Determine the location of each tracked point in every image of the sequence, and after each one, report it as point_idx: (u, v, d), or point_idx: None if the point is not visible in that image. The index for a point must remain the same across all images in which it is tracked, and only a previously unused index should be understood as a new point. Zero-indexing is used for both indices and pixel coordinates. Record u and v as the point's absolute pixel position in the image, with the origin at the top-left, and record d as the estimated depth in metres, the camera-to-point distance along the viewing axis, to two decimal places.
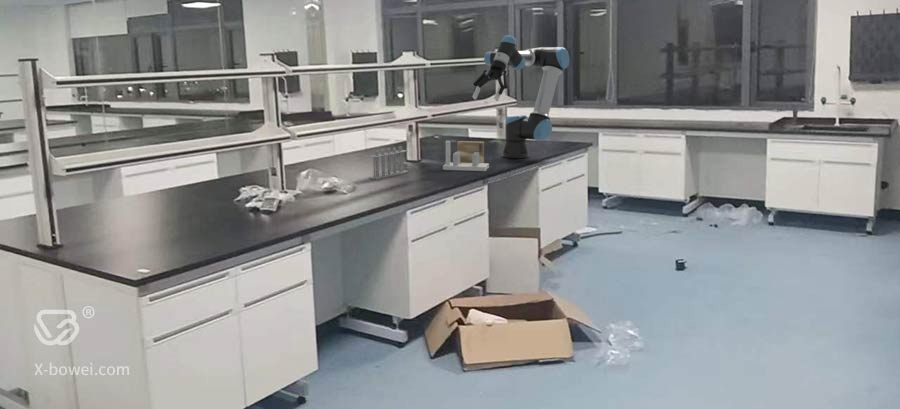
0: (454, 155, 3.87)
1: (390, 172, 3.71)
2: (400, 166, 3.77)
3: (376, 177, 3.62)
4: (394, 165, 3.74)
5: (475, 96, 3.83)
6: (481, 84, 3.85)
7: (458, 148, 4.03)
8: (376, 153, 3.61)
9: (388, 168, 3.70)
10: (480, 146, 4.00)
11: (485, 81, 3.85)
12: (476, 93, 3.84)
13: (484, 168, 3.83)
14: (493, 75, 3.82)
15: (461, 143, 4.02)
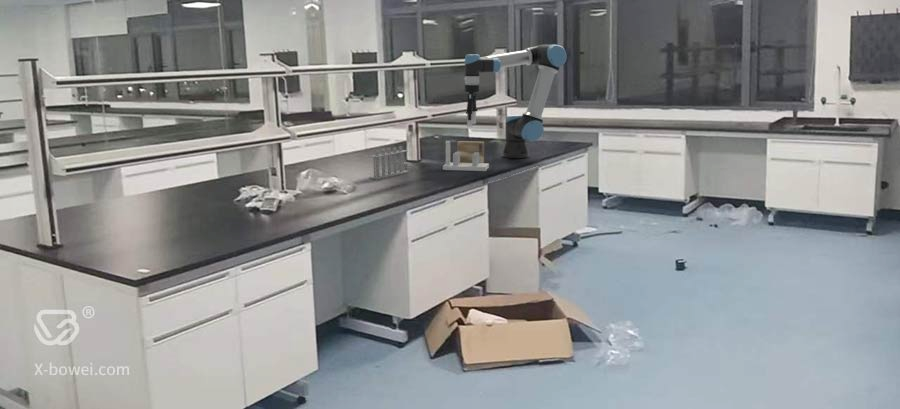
0: (454, 155, 3.87)
1: (390, 172, 3.71)
2: (400, 166, 3.78)
3: (376, 177, 3.62)
4: (394, 165, 3.74)
5: (473, 121, 4.06)
6: (473, 108, 4.04)
7: (458, 148, 4.03)
8: (376, 153, 3.62)
9: (388, 168, 3.70)
10: (480, 146, 4.00)
11: (473, 104, 4.02)
12: (472, 118, 4.06)
13: (484, 168, 3.83)
14: None
15: (461, 143, 4.02)
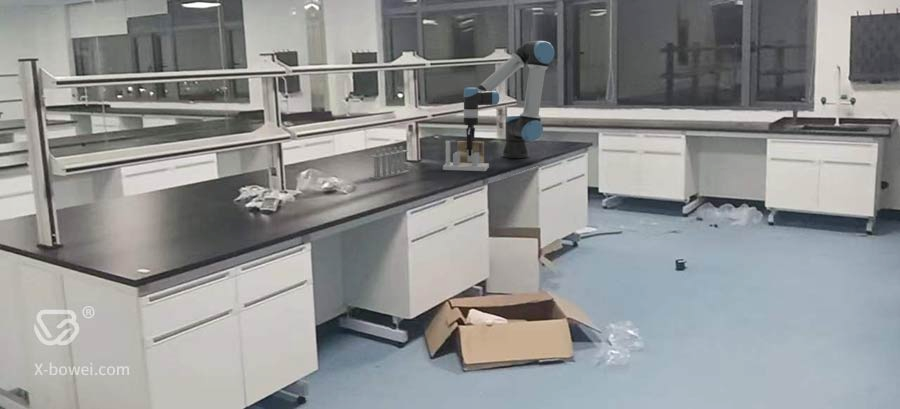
0: (454, 155, 3.87)
1: (391, 172, 3.72)
2: (401, 166, 3.78)
3: (377, 177, 3.62)
4: (395, 165, 3.74)
5: None
6: None
7: (458, 148, 4.03)
8: (377, 153, 3.62)
9: (389, 168, 3.71)
10: (480, 146, 4.00)
11: None
12: None
13: (484, 168, 3.83)
14: None
15: (461, 143, 4.02)
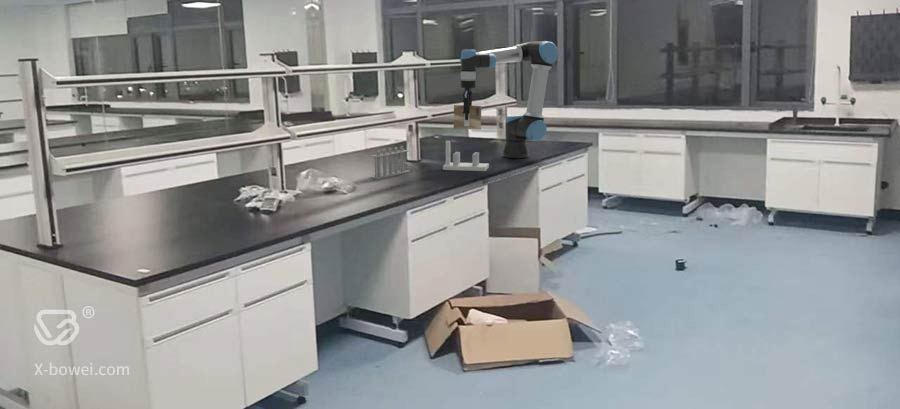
0: (454, 155, 3.87)
1: (391, 172, 3.72)
2: (401, 166, 3.78)
3: (377, 177, 3.63)
4: (395, 165, 3.74)
5: None
6: None
7: (454, 112, 3.92)
8: (377, 153, 3.62)
9: (389, 168, 3.71)
10: (477, 110, 3.88)
11: None
12: None
13: (484, 168, 3.83)
14: None
15: (458, 107, 3.91)
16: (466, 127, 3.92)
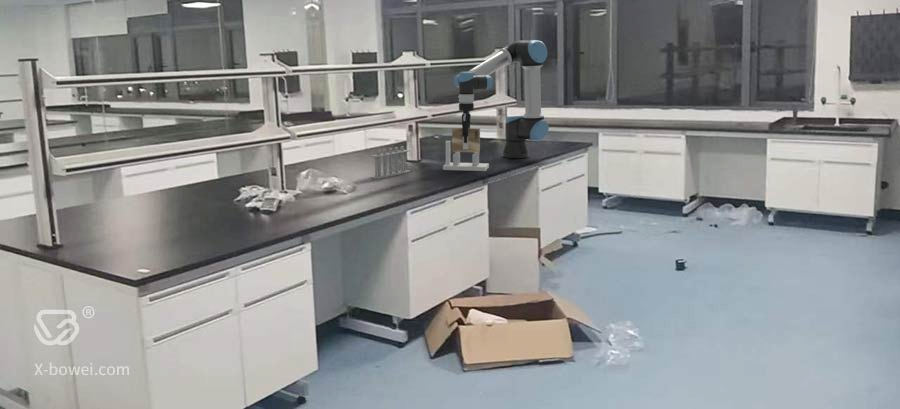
0: (454, 155, 3.87)
1: (392, 172, 3.72)
2: (402, 166, 3.78)
3: (378, 177, 3.63)
4: (396, 165, 3.75)
5: None
6: None
7: (453, 135, 3.87)
8: (378, 153, 3.62)
9: (390, 168, 3.71)
10: (475, 133, 3.84)
11: None
12: None
13: (484, 168, 3.83)
14: None
15: (456, 130, 3.86)
16: (465, 150, 3.88)
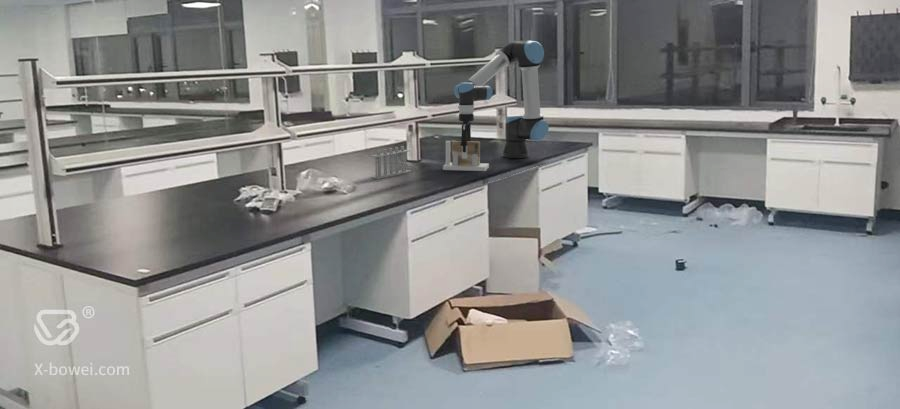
0: (454, 155, 3.87)
1: (392, 172, 3.72)
2: (402, 166, 3.78)
3: (378, 177, 3.63)
4: (396, 165, 3.75)
5: None
6: (467, 139, 3.92)
7: (453, 148, 3.89)
8: (378, 153, 3.63)
9: (390, 168, 3.71)
10: (475, 146, 3.85)
11: (467, 134, 3.90)
12: None
13: (484, 168, 3.83)
14: None
15: (456, 143, 3.88)
16: (465, 163, 3.89)
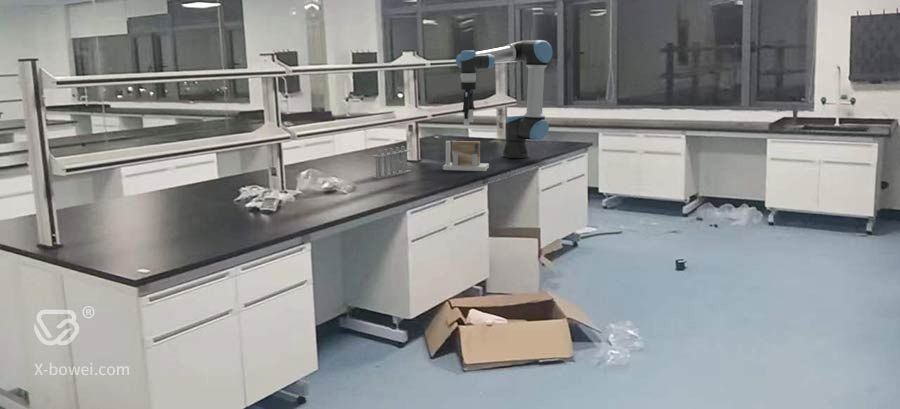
0: (454, 155, 3.87)
1: None
2: (403, 166, 3.79)
3: (378, 176, 3.63)
4: (397, 165, 3.75)
5: (470, 120, 3.93)
6: (470, 106, 3.91)
7: (453, 148, 3.89)
8: (378, 153, 3.63)
9: (391, 167, 3.72)
10: (475, 146, 3.85)
11: (470, 102, 3.89)
12: (470, 116, 3.93)
13: (484, 168, 3.83)
14: None
15: (456, 143, 3.88)
16: (465, 163, 3.89)
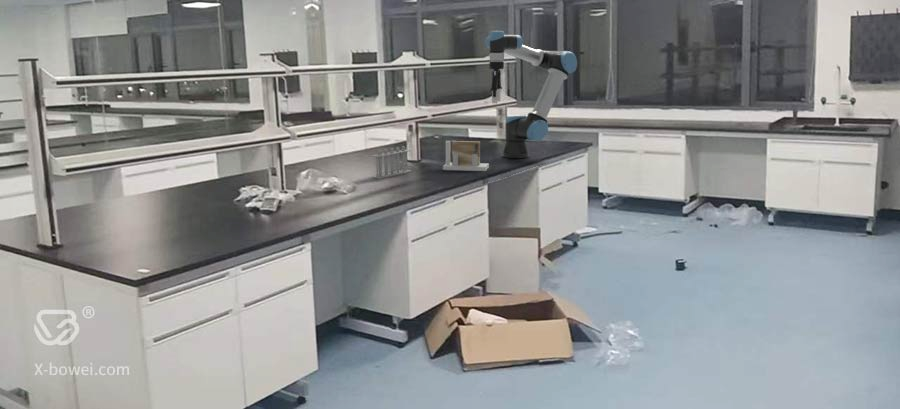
0: (454, 155, 3.87)
1: (393, 171, 3.73)
2: (403, 165, 3.79)
3: (379, 176, 3.64)
4: (397, 164, 3.75)
5: (497, 99, 4.05)
6: (497, 85, 4.03)
7: (453, 148, 3.89)
8: (379, 152, 3.63)
9: (391, 167, 3.72)
10: (475, 146, 3.85)
11: (497, 82, 4.01)
12: (497, 96, 4.04)
13: (484, 168, 3.83)
14: None
15: (456, 143, 3.88)
16: (465, 163, 3.89)
